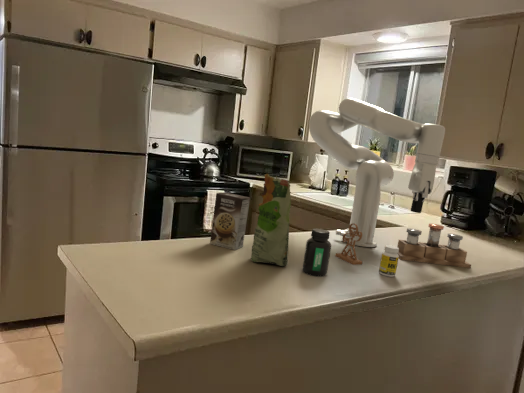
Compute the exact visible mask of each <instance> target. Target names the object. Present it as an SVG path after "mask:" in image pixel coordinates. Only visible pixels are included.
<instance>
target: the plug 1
mask: <svg viewBox="0 0 524 393" xmlns="http://www.w3.org/2000/svg"><path fill="white" fill-rule="evenodd" d="M405 232H406V233H407V235H406V236H407V237H406V240H407V241H406V243H407V244H412V245H417V244H418V242H419V237H420V236H421V235H422V230H420V229H416V228H409V227H408V228H406V231H405Z"/></svg>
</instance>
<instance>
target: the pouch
mask: <svg viewBox="0 0 524 393" xmlns="http://www.w3.org/2000/svg"><path fill="white" fill-rule="evenodd" d="M261 197H262V202H260V203H259V204H258V208H257V210H258V212H259V213H258V214H259V215H258V216H257V224H256V227H255V229H254V233H253V242H252V246H251V255H250V260H251V261H252V262H253V263H265V264H270V265H277V266H280V267H285V266H287V265H288V260H289V259H288V256H289V255H288V254H289V242H290V241H289V240H290V239H289V238H290V237H289V236H290V213H291V207H292V206H291V205H292V199H291V183H290V181H289V180H286V179H284V178H283V179H282V178H278V176H277V175H276V176H275V177H274V176H271V175H270V174H269V173H266V174H264V184H263V192H262V193H261Z"/></svg>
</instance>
